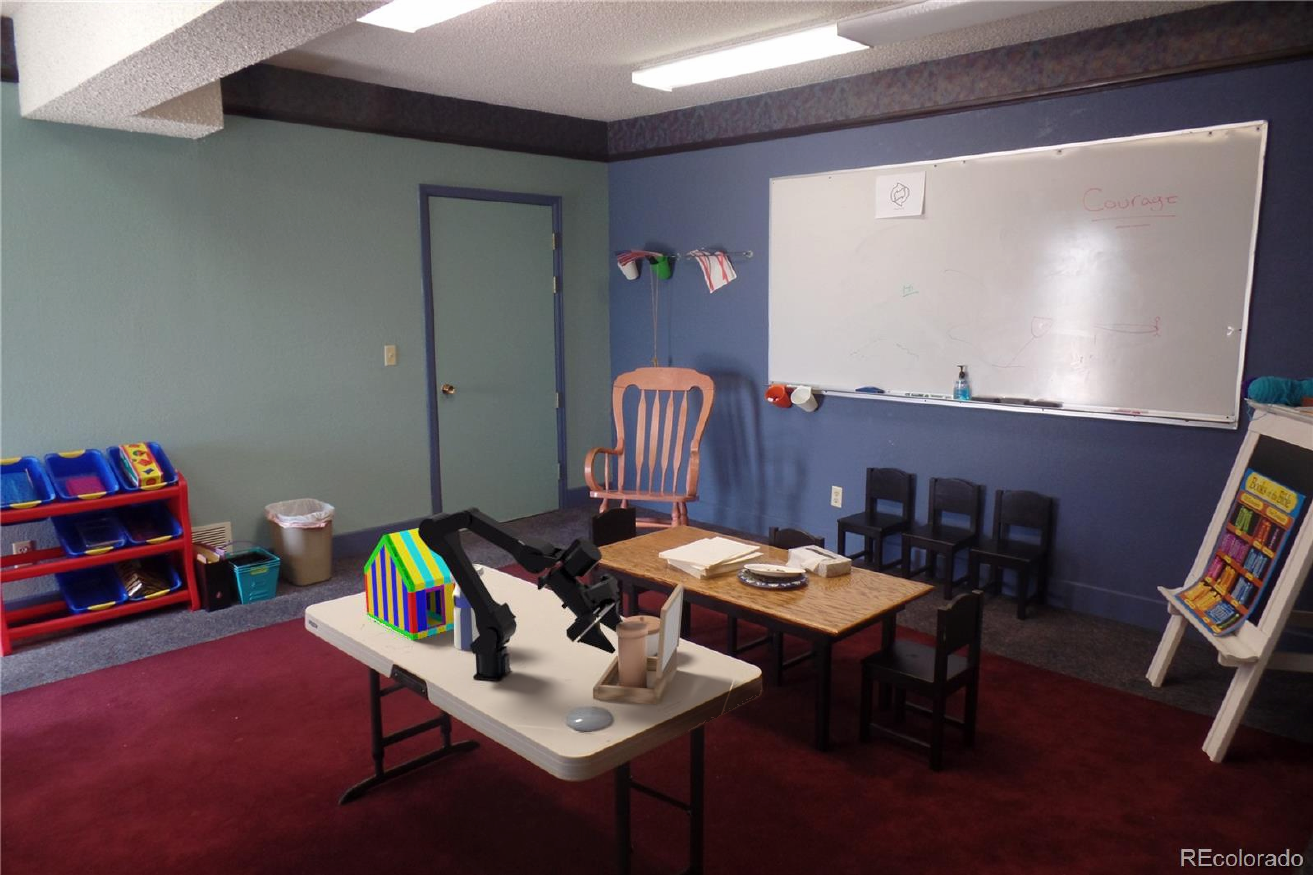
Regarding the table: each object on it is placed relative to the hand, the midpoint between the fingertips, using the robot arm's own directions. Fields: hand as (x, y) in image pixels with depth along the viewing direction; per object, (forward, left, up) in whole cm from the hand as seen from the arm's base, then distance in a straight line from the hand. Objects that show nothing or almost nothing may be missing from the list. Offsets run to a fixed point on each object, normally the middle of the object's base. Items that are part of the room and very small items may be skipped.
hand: (621, 644), depth 184 cm
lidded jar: (-1, +20, -10) cm, 22 cm away
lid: (+9, +3, -4) cm, 11 cm away
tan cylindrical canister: (+2, 0, -10) cm, 10 cm away
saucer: (-3, -16, -10) cm, 19 cm away
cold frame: (+2, +3, -10) cm, 11 cm away
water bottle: (-44, +18, -10) cm, 48 cm away
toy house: (-65, +30, -10) cm, 72 cm away
